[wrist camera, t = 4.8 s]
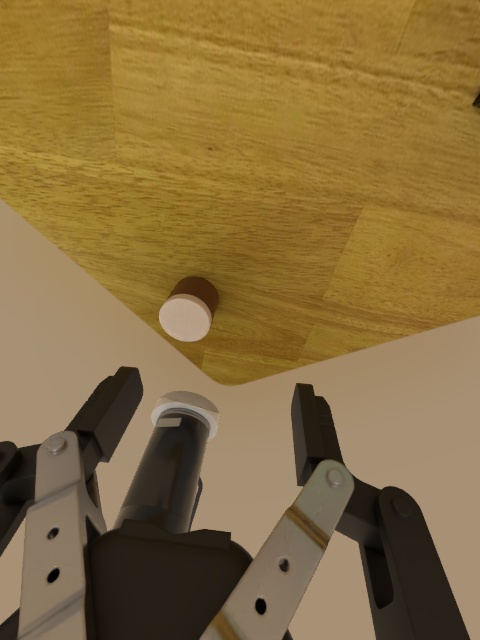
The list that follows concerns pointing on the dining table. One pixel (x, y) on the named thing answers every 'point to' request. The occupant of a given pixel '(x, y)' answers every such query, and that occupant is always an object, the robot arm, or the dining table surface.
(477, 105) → the black angular piece
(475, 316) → the dining table surface
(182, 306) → the brown lidded jar
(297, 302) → the dining table surface
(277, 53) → the dining table surface
